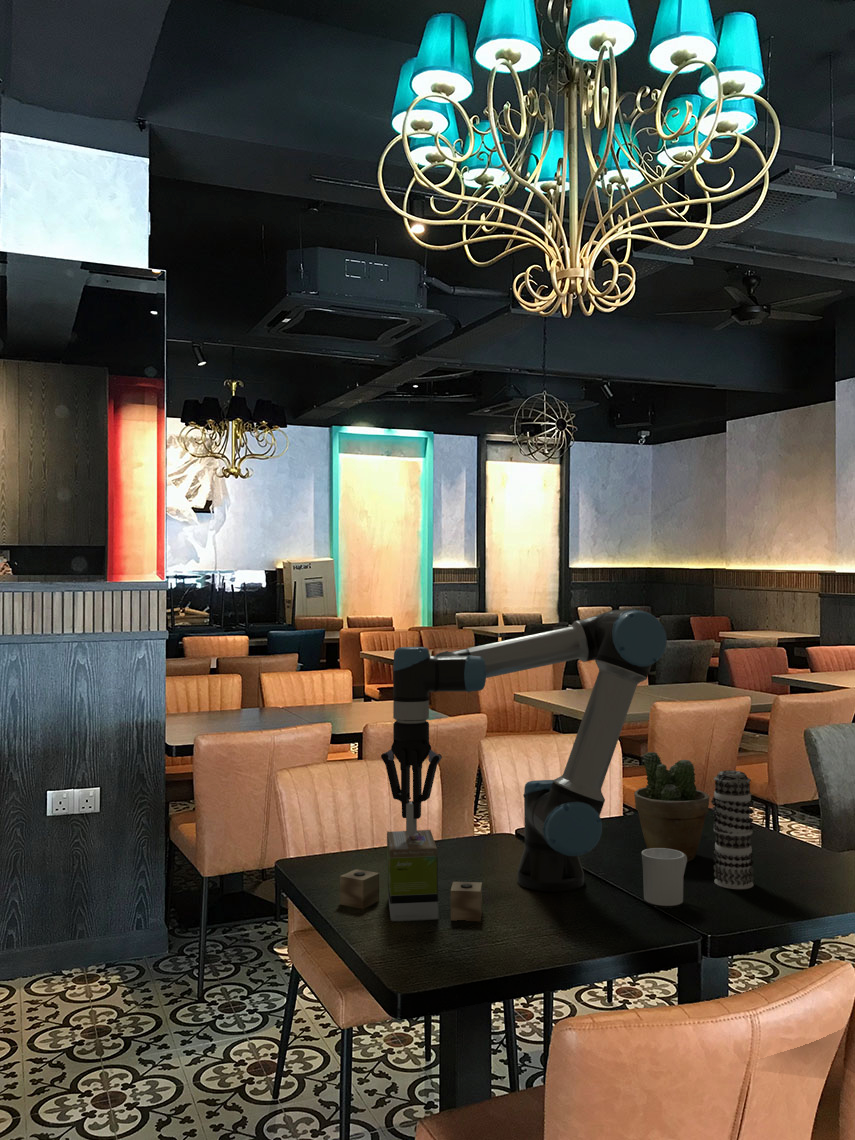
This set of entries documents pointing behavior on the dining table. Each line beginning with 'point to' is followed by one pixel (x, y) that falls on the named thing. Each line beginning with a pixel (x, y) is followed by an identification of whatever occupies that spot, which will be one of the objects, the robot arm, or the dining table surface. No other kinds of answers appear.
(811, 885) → the dining table surface
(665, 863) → the mug
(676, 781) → the potted plant
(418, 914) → the tea box
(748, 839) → the decorative candle
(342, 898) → the oak block
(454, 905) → the oak block
